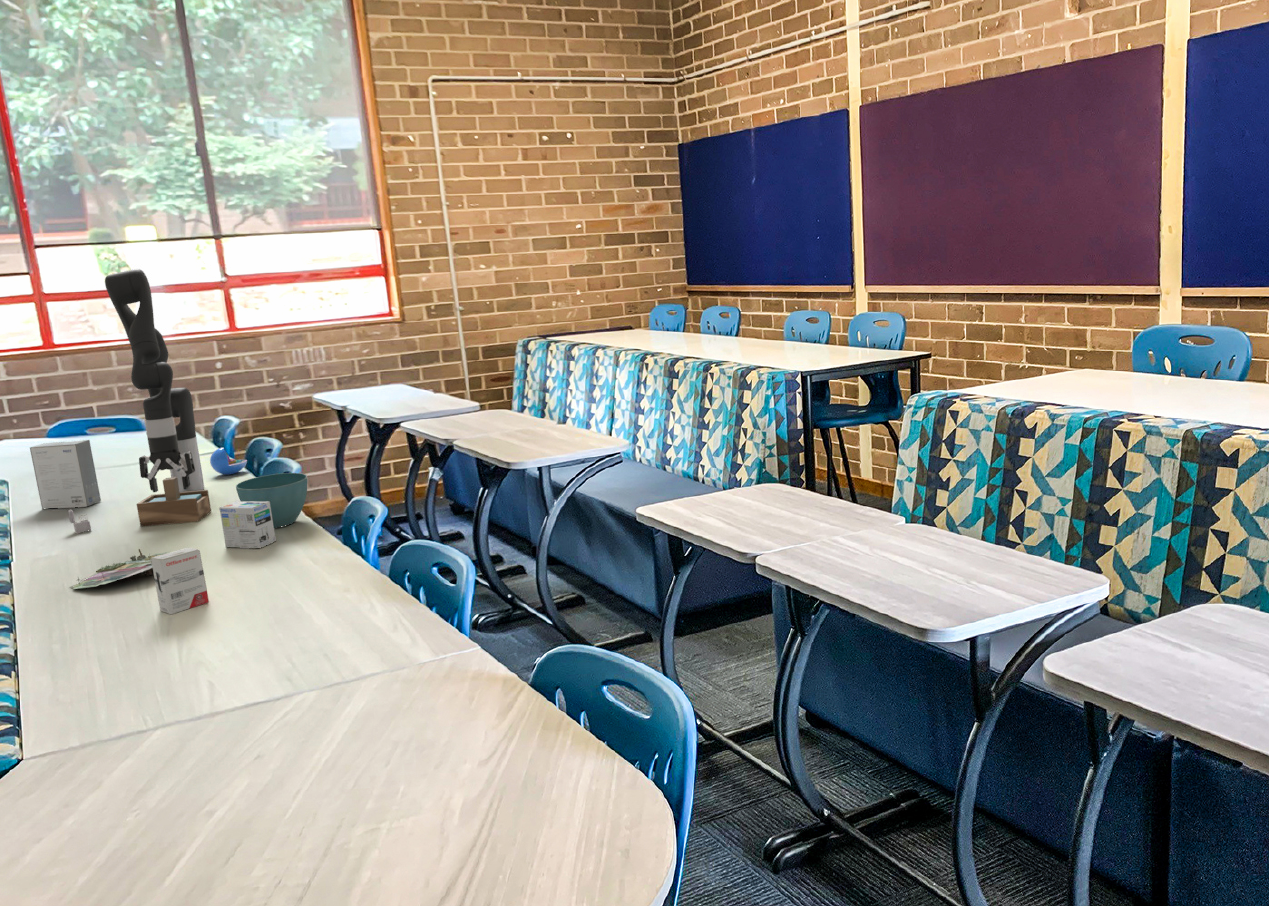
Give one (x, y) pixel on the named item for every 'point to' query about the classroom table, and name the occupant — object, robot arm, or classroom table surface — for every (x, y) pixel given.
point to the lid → (173, 491)
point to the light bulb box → (247, 524)
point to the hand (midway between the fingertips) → (170, 490)
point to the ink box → (179, 580)
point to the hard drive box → (65, 474)
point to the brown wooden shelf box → (173, 509)
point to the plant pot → (277, 495)
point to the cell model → (225, 463)
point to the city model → (119, 571)
